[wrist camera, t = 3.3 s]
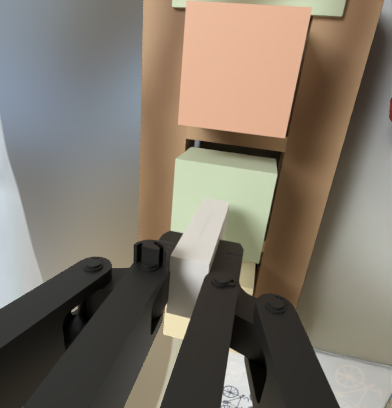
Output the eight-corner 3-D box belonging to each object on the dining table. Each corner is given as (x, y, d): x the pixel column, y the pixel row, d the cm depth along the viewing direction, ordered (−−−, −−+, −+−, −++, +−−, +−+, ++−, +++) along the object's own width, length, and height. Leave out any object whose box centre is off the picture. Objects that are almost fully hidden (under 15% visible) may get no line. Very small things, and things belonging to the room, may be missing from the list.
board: (370, 2, 19) (389, -15, 16) (284, 319, 29) (286, 346, 26) (160, -8, 21) (142, -24, 18) (148, 287, 31) (135, 308, 28)
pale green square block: (275, 158, 20) (277, 174, 17) (260, 235, 23) (258, 263, 19) (191, 146, 21) (175, 158, 18) (184, 221, 24) (169, 245, 20)
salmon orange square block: (302, 24, 17) (312, 7, 14) (281, 129, 19) (284, 138, 16) (202, 18, 18) (186, 0, 15) (193, 118, 20) (177, 124, 17)
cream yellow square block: (255, 257, 23) (253, 288, 20) (244, 316, 26) (240, 354, 22) (182, 243, 24) (167, 270, 21) (177, 300, 27) (163, 334, 23)
